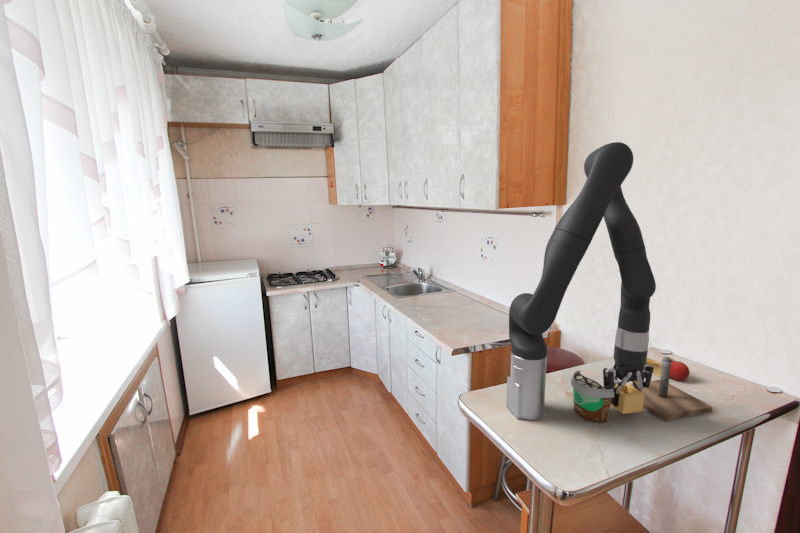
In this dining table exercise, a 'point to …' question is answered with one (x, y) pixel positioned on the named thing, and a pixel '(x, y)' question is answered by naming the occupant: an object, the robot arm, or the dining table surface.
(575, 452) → the dining table surface
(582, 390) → the food container
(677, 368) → the kendama
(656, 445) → the dining table surface
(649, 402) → the needle stand
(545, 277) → the robot arm
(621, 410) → the tan hollow square block
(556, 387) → the dining table surface
